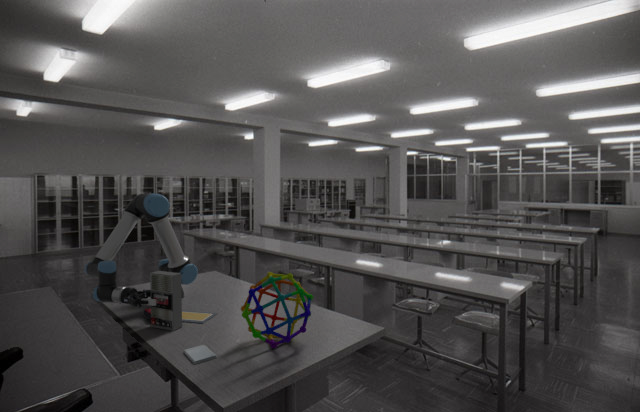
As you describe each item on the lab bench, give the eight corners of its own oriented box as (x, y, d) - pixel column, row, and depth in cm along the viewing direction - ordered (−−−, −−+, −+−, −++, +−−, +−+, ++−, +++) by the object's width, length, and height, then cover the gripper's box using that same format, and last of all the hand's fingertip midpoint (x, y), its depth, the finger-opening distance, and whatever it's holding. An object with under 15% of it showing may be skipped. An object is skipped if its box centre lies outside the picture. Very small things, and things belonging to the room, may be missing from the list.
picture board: (180, 311, 192) (180, 310, 192) (217, 313, 187) (217, 312, 187) (163, 320, 178) (163, 319, 178) (203, 323, 173) (203, 322, 173)
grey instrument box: (149, 327, 169) (148, 273, 168) (159, 322, 175) (158, 270, 174) (172, 331, 164) (171, 276, 163) (182, 326, 169) (181, 273, 168)
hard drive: (216, 355, 138) (204, 344, 148) (194, 361, 133) (183, 349, 143) (216, 359, 138) (204, 348, 148) (194, 366, 133) (183, 353, 143)
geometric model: (299, 273, 173) (241, 261, 158) (336, 284, 148) (270, 270, 133) (284, 338, 169) (222, 332, 153) (319, 360, 144) (249, 356, 128)
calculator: (165, 304, 193) (176, 309, 181) (165, 312, 193) (176, 318, 182) (143, 308, 185) (152, 314, 174) (143, 317, 185) (153, 323, 174)
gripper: (143, 295, 185) (181, 298, 181) (104, 311, 161) (147, 315, 157) (143, 281, 185) (181, 283, 181) (104, 294, 161) (146, 297, 156)
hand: (165, 298), depth 169 cm, fingers open, 13 cm apart
